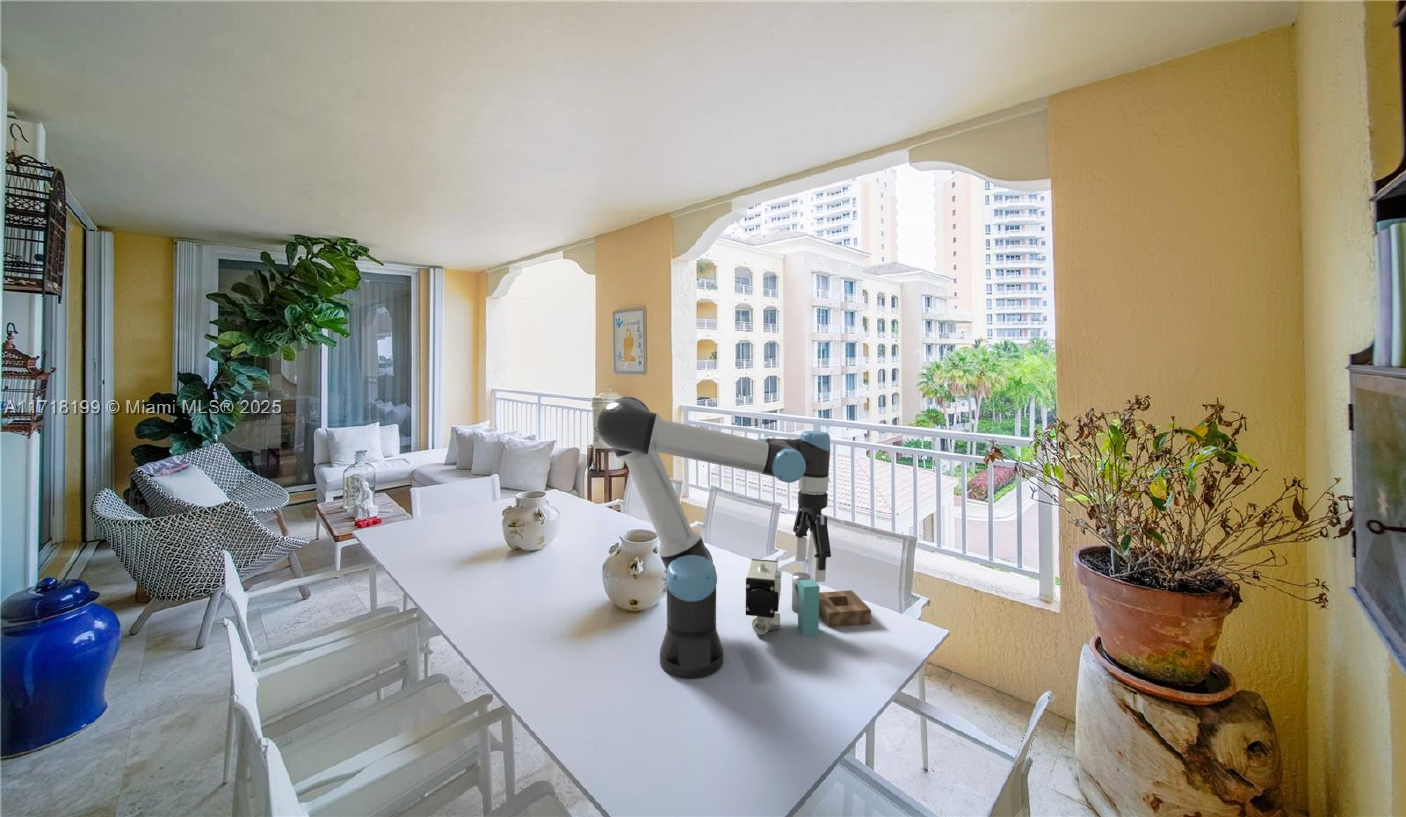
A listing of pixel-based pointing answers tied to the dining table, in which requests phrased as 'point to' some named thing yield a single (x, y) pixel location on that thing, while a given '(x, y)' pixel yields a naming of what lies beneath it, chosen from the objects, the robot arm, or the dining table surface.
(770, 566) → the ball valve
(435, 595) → the dining table surface
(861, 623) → the bore block
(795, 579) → the round bit
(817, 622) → the square bit
